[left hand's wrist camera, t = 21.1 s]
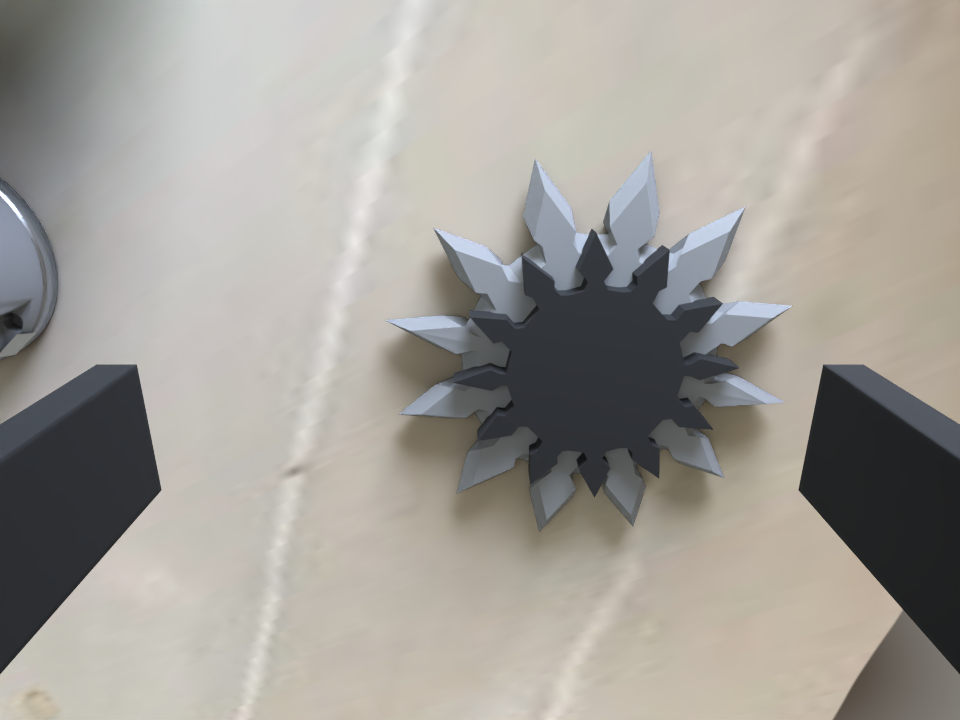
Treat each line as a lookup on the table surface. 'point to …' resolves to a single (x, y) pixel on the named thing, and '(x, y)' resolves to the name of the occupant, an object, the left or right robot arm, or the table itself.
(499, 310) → the decorative piece
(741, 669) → the table surface
